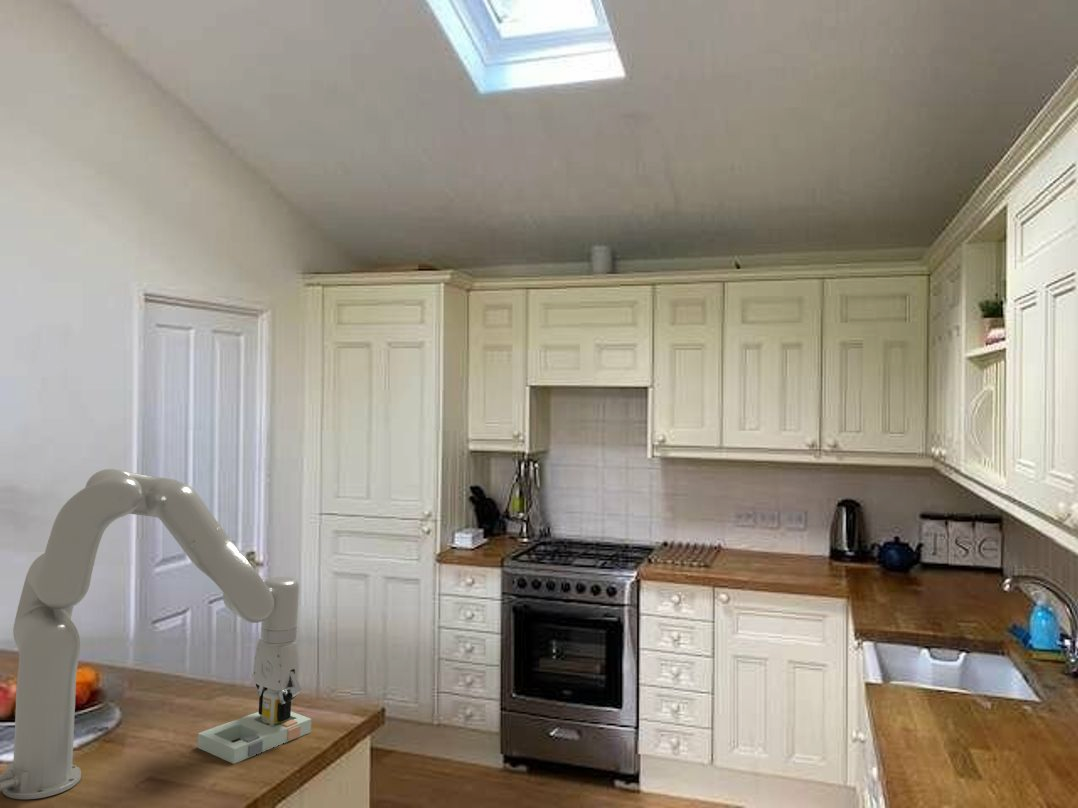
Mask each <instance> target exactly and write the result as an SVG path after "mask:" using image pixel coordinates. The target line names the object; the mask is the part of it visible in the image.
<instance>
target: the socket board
mask: <svg viewBox="0 0 1078 808" xmlns="http://www.w3.org/2000/svg"><path fill="white" fill-rule="evenodd" d="M261 720H262V715H260V714H259V711H257V712H254V713H251V714H248V715H245V716H243V717H240V718H237V719H234V720H231V721H229V722H226V723H223V724H221V725H217V726H215V727H212V728H209V729H206V730H204V731H201V732H198V733H197V745H196V746H197V747H196V748H197V749H199V750H202V751H205V752H206V753H209V754H211V755H213V756H215V757H218V758H219V759H222V760H224V761H226V762H229V763H231V764H236V763H240V762H242V761H244V760H247V759H249V758H252V757H254V756H257V755H259V754H261V752H262V753H265V752H267V751H268V750H272V749H274V748H276V747H278V745H279V746H280V745H284V744H286V743H288V742H291V741H293V740H296V739H298V738H300V737H303V736H306V735H308V734H310V733H312V718H309V717H307V716H304V715H302V714H299V713H298V712H294V711H291V715H290V718H289V719H287V722H284V723H282V724H281V725H278V726H275V727H271V726H268V725H266V724H263V723H261ZM238 739H239V740H238ZM235 740H237V741H235ZM233 741H234V742H233ZM283 743H284V744H283ZM273 747H274V748H273ZM266 750H267V751H266ZM256 754H257V755H256Z"/></svg>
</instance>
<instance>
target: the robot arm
mask: <svg viewBox="0 0 1078 808" xmlns="http://www.w3.org/2000/svg"><path fill="white" fill-rule="evenodd" d="M127 515H137V516H143V517H151V518H152V517H153V518H157V519H159V520H160V521H161V523H162V524H163V525H164V527H165V528H166V529H167V530H168V532H169V533H170V534H171V536H172V537H173V538H174V540H175V541H176V542H177V544H178V545H179V546H180V548H181V549H182V551H183V552H184V554H185V555H186V556H187V558H189V560H190V562H192V564H194V566H195V567H196V568H198V570H200V571H201V572H202V573H203V574H205V575H206V576H207V578H210V580H211V581H212V582H214V583H215V584H216V586H217V587H218V588H219V589H220V590H221V591H222V601H223V604H224V606H225V607H226V608H227V609H228V610H229V611H230V612H232V613H233V614H234V615H237V616H238V617H239V618H240V619H242V620H243V621H245V622H247V623H253V624H256V623H261V627H260V628H261V629H260V638H259V639H258V640H257V644H256V647H255V648H256V649H255V654H254V660H253V669H252V670H253V671H252V675H251V677H252V681H253V682H254V683H255V686H256V688H257V696H259V698H258V699H259V700H258V712H259V714H260V715H262V704H263V693H264V692H265V690H267V688H268V689H271V690H274V691H277V692H279V698H280V703H278V711H277V721H278V722H281V721H284V720H287V719H289V718H290V715H291V712H292V701H294V700H295V699H294V698H296V697H297V696H298V694H300V693H301V692H302V688H301V685H300V683H299V649H298V642H297V632H298V631H297V630H298V628H297V627H298V612H299V611H298V609H299V594H300V593H299V592H300V585H299V584H300V583H299V581H298V580H297V579H295V578H293V577H289V576H277V577H271V578H268V579H267V578H266V579H264V578H262V577H261V576H260V574H259V573H258V571H257V570H256V569H255V568H254V566H253V565H252V564H251V563H250V561H249V560H248V559H247V557H246V556H244V554H243V553H242V552H241V550H240V549H239V548H238V547H237V544H235V543H234V542H233V541H232V539H231V538H230V537H229V536H228V534H227V533H226V531H225V530H224V529H223V527H222V526H221V525H220V523H219V522H218V521H217V519H216V518H215V516H214V514H213V513H212V512H211V511H210V509H209V508H208V506H207V505H206V504H205V503H204V501H203V500H202V498H201V497H200V495H199V494H198V493H197V492H196V490H195V489H194V488H192V487H191V486H190V485H189V484H187V483H184V482H182V481H179V480H176V479H171V478H166V477H160V476H152V475H146V474H141V473H137V472H129V471H125V470H120V469H114V468H108V469H107V468H106V469H102V470H98V471H97V472H96V473H94V474H93V475H92V476H90V477H89V478H88V480H87V482H86V483H85V487H84V488H82V489H81V490H79V491H78V492H76V493H75V494H74V495H73V496H72V497H71V498H69V499H68V500H67V501H66V503H64V504H63V506H62V507H61V508H60V510H59V511H58V513H57V515H56V517H55V520H54V522H53V525H52V528H51V530H50V534H49V538H48V541H47V544H46V547H45V551H44V552H43V553H42V554H40V555H39V556H38V557H36V558H35V560H34V561H33V562H32V563H31V565H30V566H29V568H28V570H27V573H26V575H25V579H24V582H23V585H22V590H21V594H20V599H19V602H18V606H17V610H16V614H15V618H14V623H13V629H12V633H13V639H14V643H15V646H16V648H17V651H18V671H17V678H16V679H17V682H16V691H15V692H16V695H15V718H14V719H15V720H14V740H13V744H14V745H13V762H12V763H9V764H7V765H6V770H5V771H2V772H1V774H0V791H2V794H3V795H4V796H5V797H7V798H11V799H15V800H36V799H42V798H48V797H51V796H55V795H59V794H61V793H64V792H65V791H67V790H69V789H71V788H73V787H75V785H77V784H78V783H79V782H80V781H81V777H82V770H81V768H80V767H79V766H77V765H75V764H73V759H74V758H73V756H74V755H73V754H74V737H75V736H74V734H75V732H74V731H75V717H76V716H75V715H76V713H75V712H76V711H75V709H76V687H77V686H76V685H77V673H78V666H79V658H80V653H81V651H80V650H81V636H80V633H79V631H78V628H77V626H76V624H75V623H74V622H73V621H72V619H71V618H72V614H73V610H74V606H76V605H78V604H79V603H80V602H81V601H82V600H83V599H84V598H85V597H86V595H87V593H88V591H89V589H90V586H91V585H90V584H91V580H92V574H93V569H94V566H95V562H96V558H97V553H98V549H99V547H100V544H101V540H102V537H103V534H104V533H105V531H106V529H107V528H108V527H109V526H110V525H111V524H112V523H113V522H114V521H116V520H117V519H120V518H122V517H124V516H127ZM286 690H287V694H286V696H285V694H284V691H286Z"/></svg>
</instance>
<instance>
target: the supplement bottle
mask: <svg viewBox="0 0 1078 808" xmlns="http://www.w3.org/2000/svg"><path fill="white" fill-rule="evenodd" d="M284 694H285V696H286V694H287V690H286V691H284ZM278 703H280V698H279V692H277V691H274V690H271V689H268V688H267V690H265V692H264V693H263V704H262V720H261V723H263V724H266V725H268V726H271V727H275V726H278V725H281V724H282V723H284V722H287V720H284V721H281V722H278V721H277V711H278Z"/></svg>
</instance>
